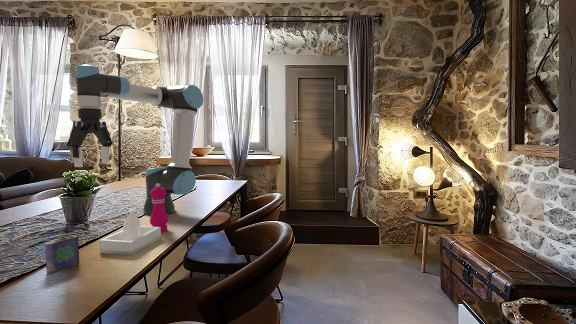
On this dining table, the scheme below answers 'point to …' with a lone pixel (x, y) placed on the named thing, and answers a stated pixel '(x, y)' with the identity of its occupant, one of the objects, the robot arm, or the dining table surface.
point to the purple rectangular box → (62, 253)
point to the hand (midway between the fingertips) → (92, 165)
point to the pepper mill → (158, 208)
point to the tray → (119, 246)
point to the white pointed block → (131, 227)
